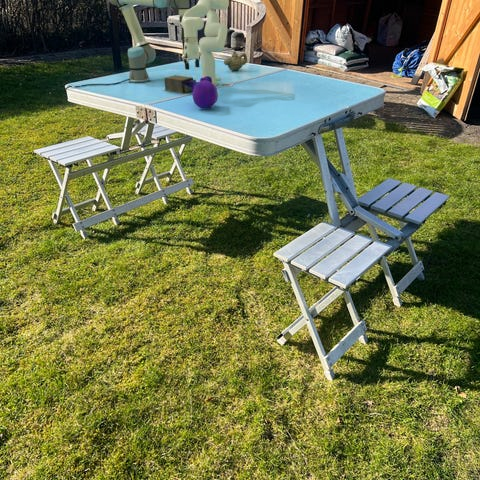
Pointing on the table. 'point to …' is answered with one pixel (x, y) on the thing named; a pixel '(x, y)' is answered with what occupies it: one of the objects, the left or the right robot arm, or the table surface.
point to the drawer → (187, 88)
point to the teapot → (235, 61)
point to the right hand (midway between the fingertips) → (192, 68)
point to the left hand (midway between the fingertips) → (186, 48)
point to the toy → (203, 92)
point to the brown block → (175, 83)
